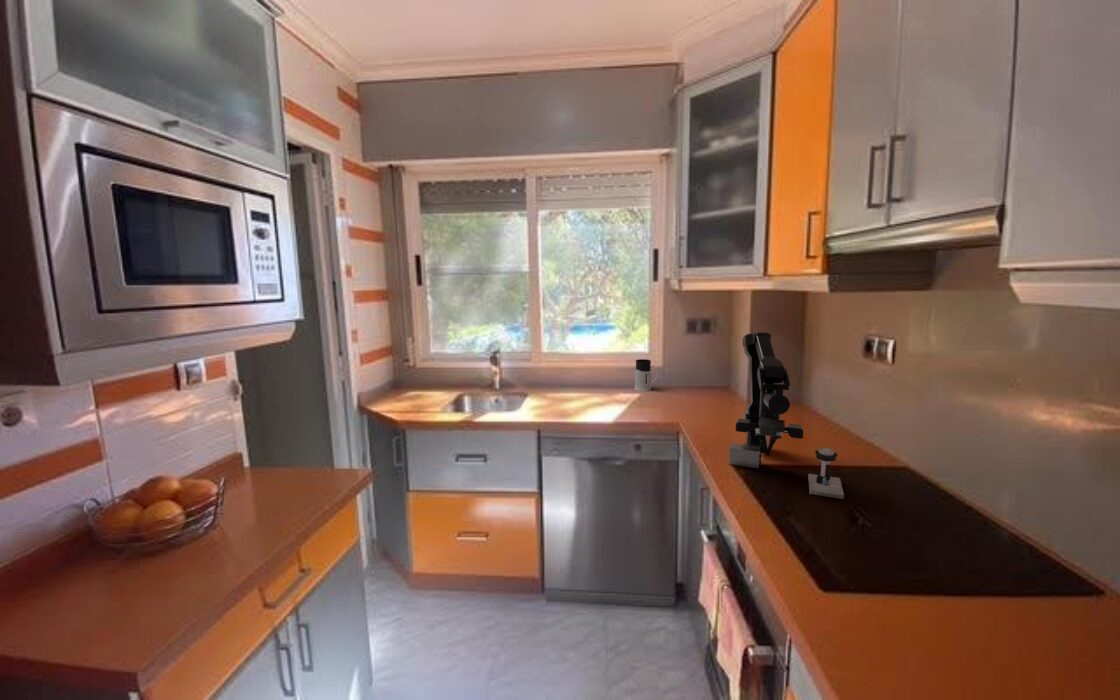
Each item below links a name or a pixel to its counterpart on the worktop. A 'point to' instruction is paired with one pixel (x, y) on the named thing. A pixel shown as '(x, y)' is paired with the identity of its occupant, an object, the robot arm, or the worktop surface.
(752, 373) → the robot arm
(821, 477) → the push button
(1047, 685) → the worktop surface
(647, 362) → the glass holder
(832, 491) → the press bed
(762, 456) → the press pin
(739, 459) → the block
